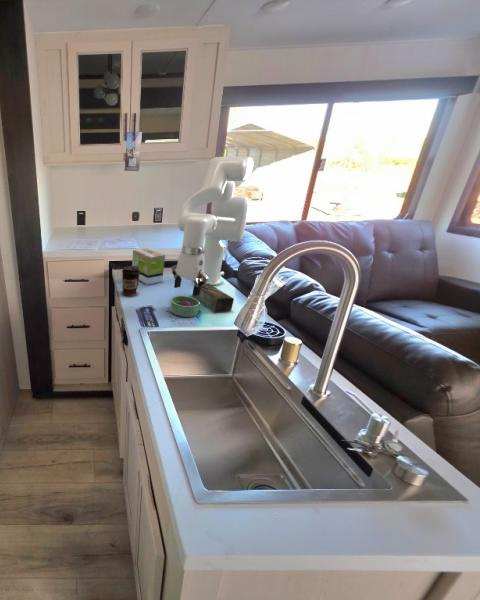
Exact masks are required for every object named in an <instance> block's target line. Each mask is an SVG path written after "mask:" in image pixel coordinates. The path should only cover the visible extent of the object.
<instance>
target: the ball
mask: <svg viewBox="0 0 480 600" xmlns="http://www.w3.org/2000/svg"><path fill="white" fill-rule="evenodd" d="M180 305H182V306H191V304H190V303H189V302H188V301H183V302H182V303H181V304H180Z"/></svg>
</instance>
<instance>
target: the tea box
mask: <svg viewBox="0 0 480 600" xmlns="http://www.w3.org/2000/svg"><path fill="white" fill-rule="evenodd" d="M131 259H132V260H131V261H132V262H131V263H132V264H131V266H136V267H139V270H140V274H139V281H140V282H142V283H144V284H145V285H147V286H148V285H153V284H158V283H163V280H164V279H163V278H164V270H165V260H166V254H163V253H160V252H158V251H156V250H153V249H151V248H148V247H147V248H140V249H133V250H132V258H131Z"/></svg>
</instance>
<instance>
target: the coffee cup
mask: <svg viewBox="0 0 480 600" xmlns="http://www.w3.org/2000/svg"><path fill="white" fill-rule="evenodd" d="M121 274H122V275H121V276H122V277H121V278H122V279H121V281H122V294H123V295H124V296H129V297H134V296H136V295H138V293H137V290H138V286H139V281H140V280H139V274H140V270H139V267H136V266H132V265H128V266H124V267H123V268H122V272H121Z"/></svg>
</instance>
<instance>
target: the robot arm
mask: <svg viewBox="0 0 480 600" xmlns="http://www.w3.org/2000/svg"><path fill="white" fill-rule="evenodd" d="M253 167H254V160H253V158H252V157H251V156H231V155H230V156H216V157H213V158H211V159H210V161H209V163H208V169H207V171H206V174H205V177H204V180H203V183H202V185H201V189H200V190H197V192H195V193H194V194H193V195H191V196H190V197H189V198H188V199H186V201H185V202H184V204H183V206H182V209H181V211H180V213H179V216H178V221H177V228H178V229H179V230H180V231H182V232H183V238H182V246H181V251H180V253H179V255H178V259H177V263H176V264H174V265H171V267H170V268H171V271H172V275H173V279H174V283H173V284H174V285H173V288H174V289H178V288H180V287H181V284H182V278H184V279H186V280H189V281H192V282H193V283H194V284H195V285H196V286H195V287H194V286H193V288H194V292H193V291H192V294H193V296H192V297H194V296H196V295H199V294H200V290H201V286H202V285H204V284H205V283H209V284H211V285H212V286H219V285H221V284H222V282H223V280H222V279H221V276H224V275H225V272H224V271H221V270H222V264H223V260H224V259H223V258H224V254H225V246H224V243H223V242H222V241H226V242H235V243H236V242H237V243H238V242H240V241H242V240H243V238H244V235H245V231H246V226H247V220H248V216H249V210H250V200H249V199H248V198H247V197H244V196H234V192H235V187H236V185H235V182H244V181H245V180H246V179H248V177H249V176H251V173H252V171H253ZM210 203H211V209H210V210H211V213H203V212H202V213H201V212H192V211H194V210H195V209H197V208H198V207H202V206H204V205H208V204H210ZM217 217H218V218H217ZM219 218H220V219H219ZM221 218H228V219H221ZM231 219H234V220H231Z"/></svg>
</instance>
